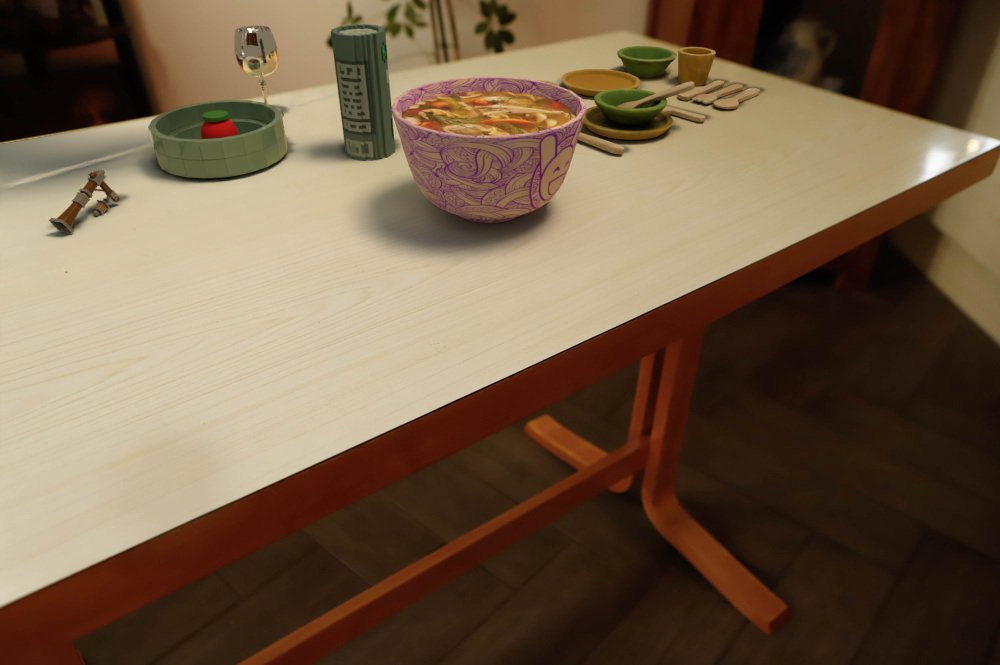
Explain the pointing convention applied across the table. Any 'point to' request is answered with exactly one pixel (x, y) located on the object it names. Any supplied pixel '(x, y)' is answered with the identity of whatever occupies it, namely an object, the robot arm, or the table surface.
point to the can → (364, 90)
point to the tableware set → (646, 94)
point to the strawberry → (217, 125)
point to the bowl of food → (489, 143)
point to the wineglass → (256, 53)
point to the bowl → (218, 139)
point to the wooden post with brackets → (85, 201)
